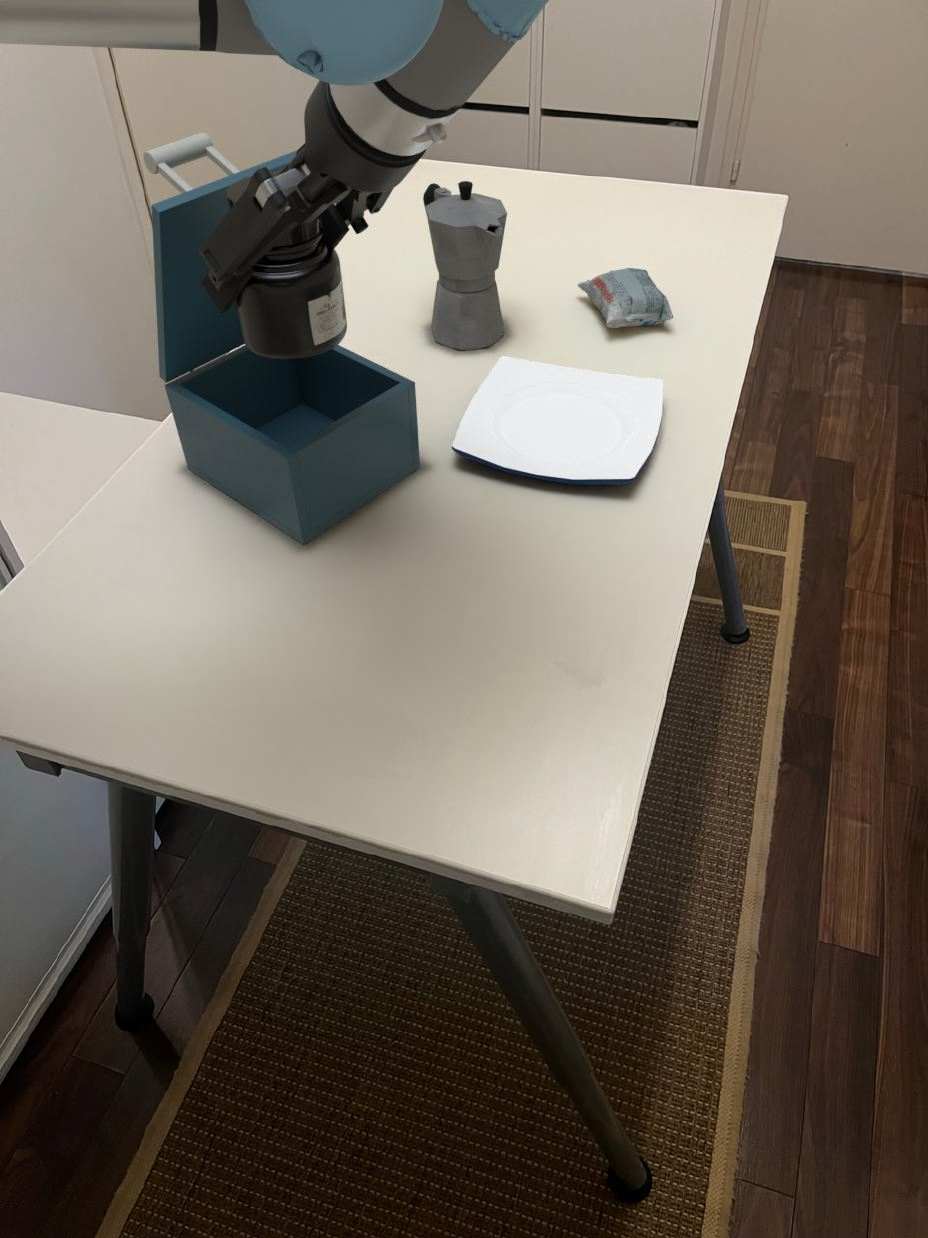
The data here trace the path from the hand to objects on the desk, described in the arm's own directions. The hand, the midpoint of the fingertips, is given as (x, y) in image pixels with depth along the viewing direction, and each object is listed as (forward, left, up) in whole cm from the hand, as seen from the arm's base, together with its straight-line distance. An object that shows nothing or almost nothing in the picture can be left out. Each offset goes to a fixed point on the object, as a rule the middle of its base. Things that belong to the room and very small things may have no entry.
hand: (262, 275), depth 76 cm
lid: (-4, +8, -3) cm, 9 cm away
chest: (0, +4, -23) cm, 23 cm away
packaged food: (+37, +34, -23) cm, 55 cm away
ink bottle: (+2, -2, -4) cm, 6 cm away
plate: (+27, +9, -23) cm, 37 cm away
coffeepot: (+17, +32, -23) cm, 43 cm away
